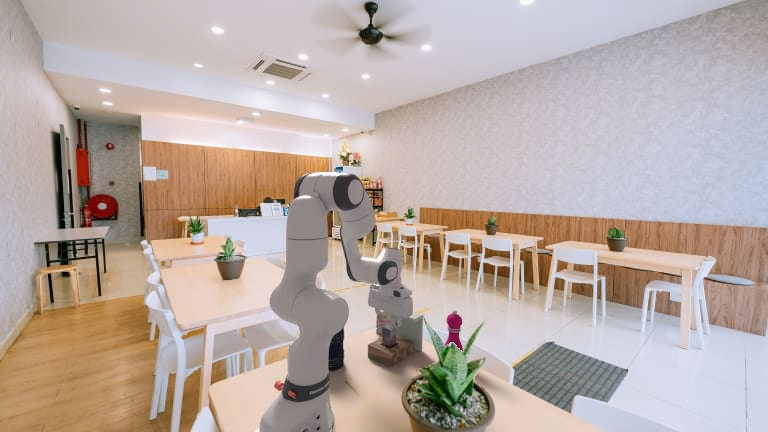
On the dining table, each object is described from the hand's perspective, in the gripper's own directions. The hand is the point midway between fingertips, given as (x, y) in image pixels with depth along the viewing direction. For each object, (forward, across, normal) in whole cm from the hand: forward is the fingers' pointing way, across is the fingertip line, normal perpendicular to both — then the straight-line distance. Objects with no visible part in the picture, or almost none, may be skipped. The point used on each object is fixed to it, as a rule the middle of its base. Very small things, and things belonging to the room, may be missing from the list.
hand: (388, 322), depth 123 cm
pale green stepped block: (+14, 0, +10) cm, 17 cm away
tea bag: (+14, -15, +16) cm, 26 cm away
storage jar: (+15, -13, -18) cm, 27 cm away
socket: (+14, 0, +2) cm, 14 cm away
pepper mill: (+14, +21, +15) cm, 29 cm away
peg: (+14, 0, +1) cm, 14 cm away
